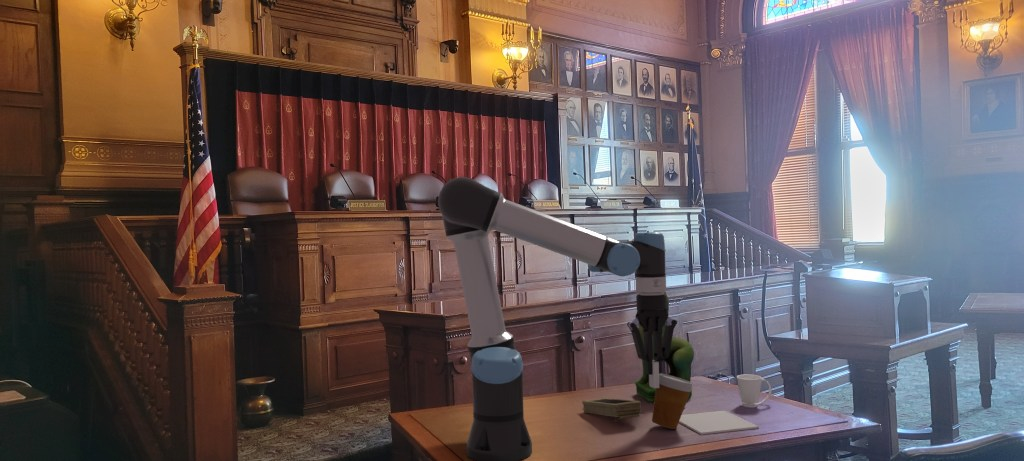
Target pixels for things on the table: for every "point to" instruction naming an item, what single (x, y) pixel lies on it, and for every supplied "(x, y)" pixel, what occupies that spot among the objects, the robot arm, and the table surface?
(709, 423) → the felt mat
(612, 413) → the box
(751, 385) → the cup
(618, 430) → the table surface
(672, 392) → the disposable coffee cup
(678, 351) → the lion statue
